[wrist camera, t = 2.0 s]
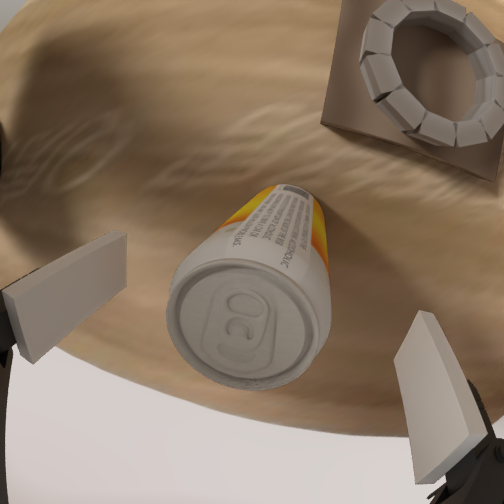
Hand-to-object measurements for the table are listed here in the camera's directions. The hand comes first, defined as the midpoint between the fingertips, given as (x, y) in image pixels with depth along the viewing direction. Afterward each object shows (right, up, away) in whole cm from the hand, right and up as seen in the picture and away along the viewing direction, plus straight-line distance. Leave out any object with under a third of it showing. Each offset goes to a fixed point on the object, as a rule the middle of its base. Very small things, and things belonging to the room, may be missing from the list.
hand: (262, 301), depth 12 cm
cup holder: (+12, +15, +5) cm, 20 cm away
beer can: (+2, +4, +11) cm, 12 cm away
